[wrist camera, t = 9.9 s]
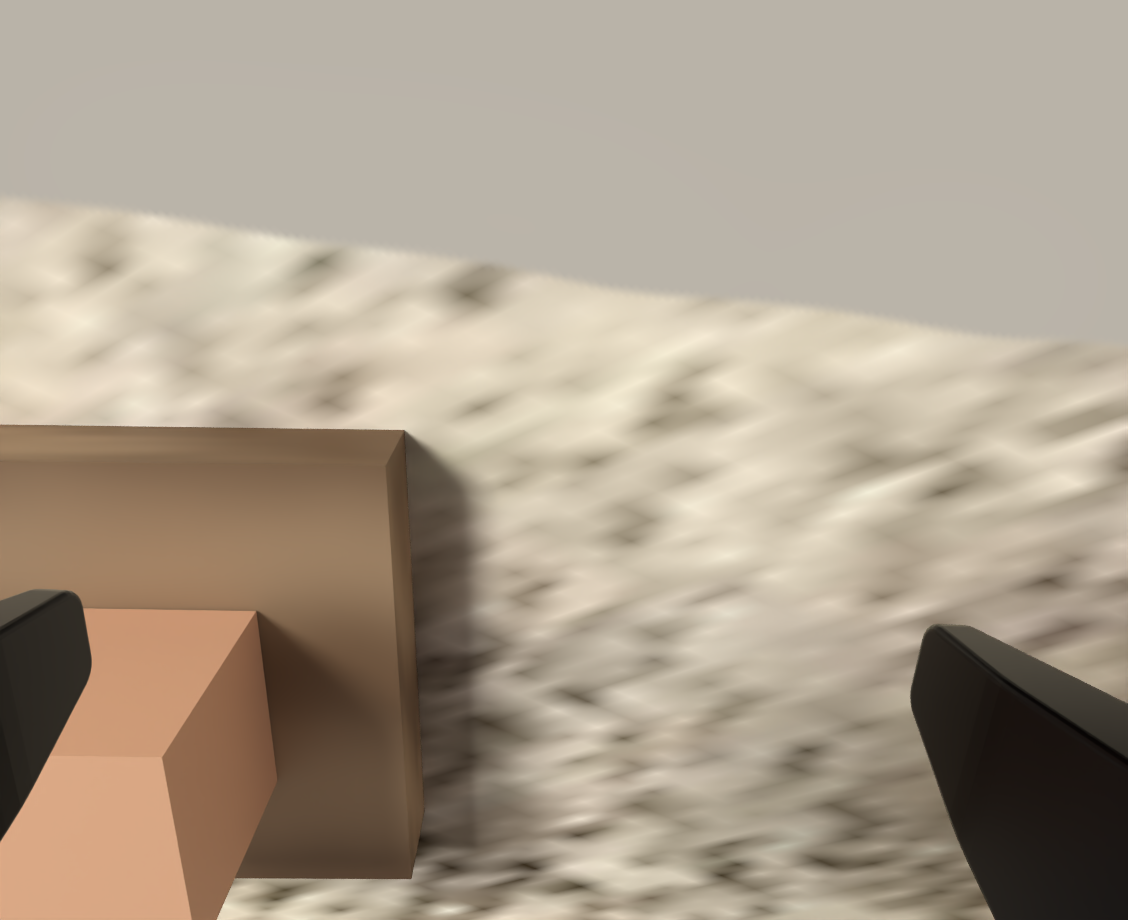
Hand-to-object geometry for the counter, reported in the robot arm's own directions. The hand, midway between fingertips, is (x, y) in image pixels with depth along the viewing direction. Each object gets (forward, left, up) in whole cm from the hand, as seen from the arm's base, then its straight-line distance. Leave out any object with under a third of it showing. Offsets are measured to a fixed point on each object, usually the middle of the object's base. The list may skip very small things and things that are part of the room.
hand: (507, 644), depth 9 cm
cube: (-8, +9, -10) cm, 15 cm away
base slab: (-8, +9, -13) cm, 17 cm away
